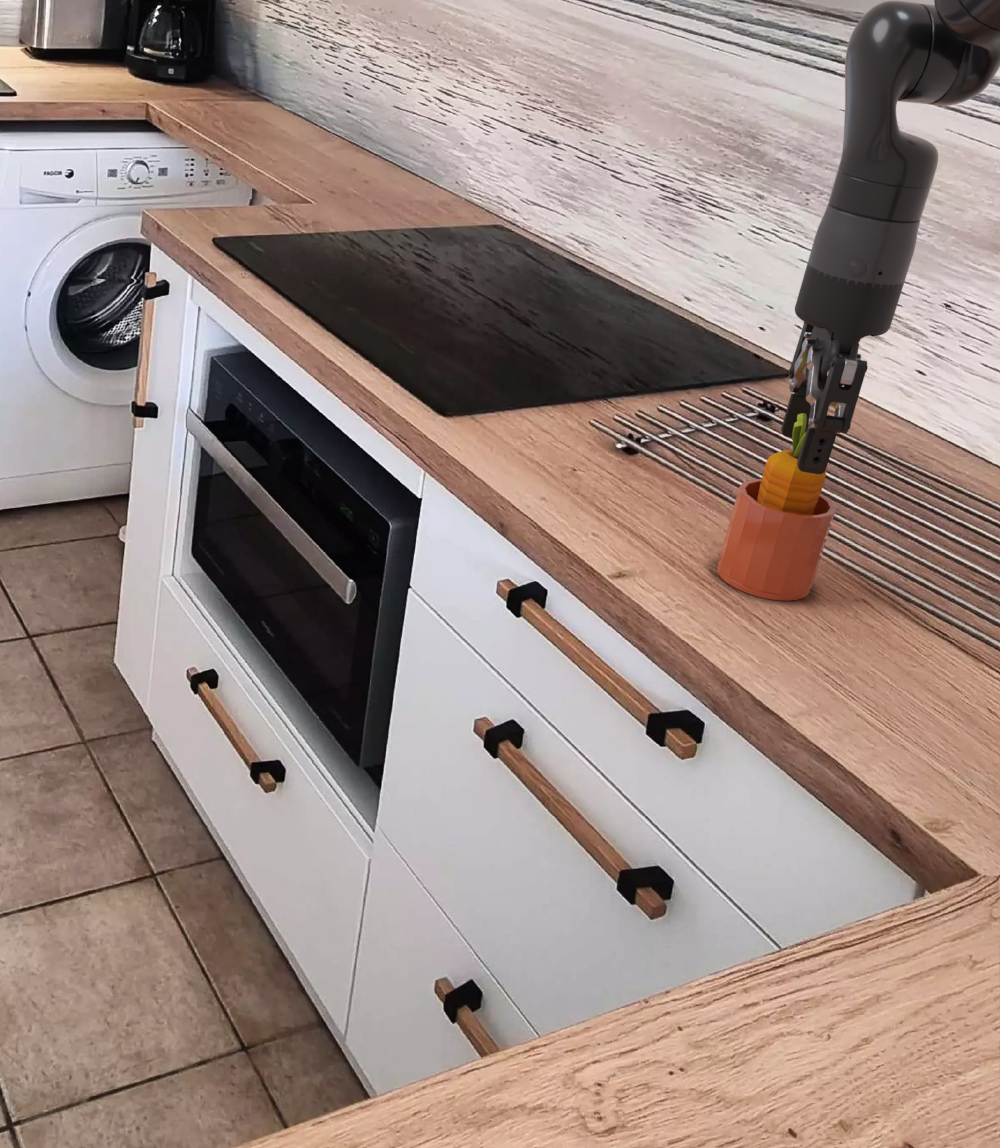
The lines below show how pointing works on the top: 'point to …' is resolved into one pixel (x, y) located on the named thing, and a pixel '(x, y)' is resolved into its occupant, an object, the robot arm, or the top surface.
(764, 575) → the pot
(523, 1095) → the top surface
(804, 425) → the carrot
